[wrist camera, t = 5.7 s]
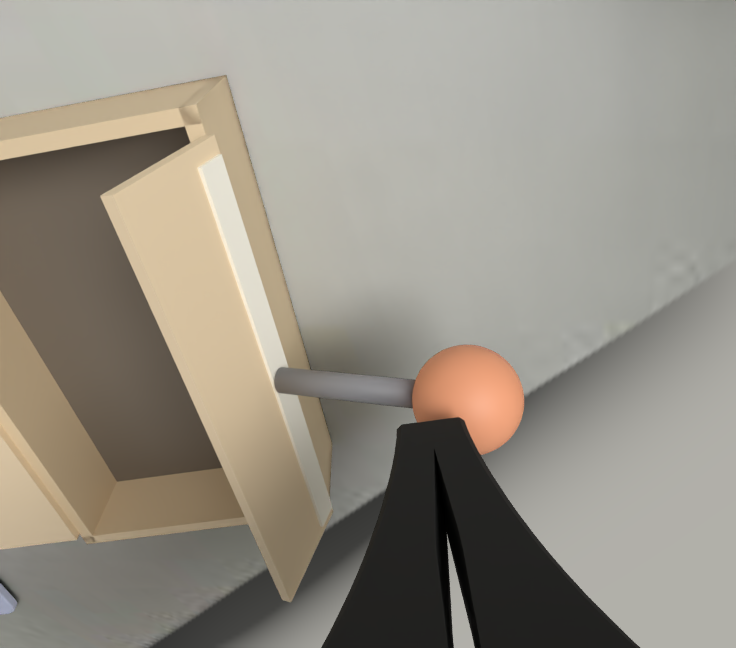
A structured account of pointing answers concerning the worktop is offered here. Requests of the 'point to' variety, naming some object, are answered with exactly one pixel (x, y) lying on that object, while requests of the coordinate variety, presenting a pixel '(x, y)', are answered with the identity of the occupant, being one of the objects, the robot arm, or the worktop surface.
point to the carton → (111, 328)
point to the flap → (269, 356)
